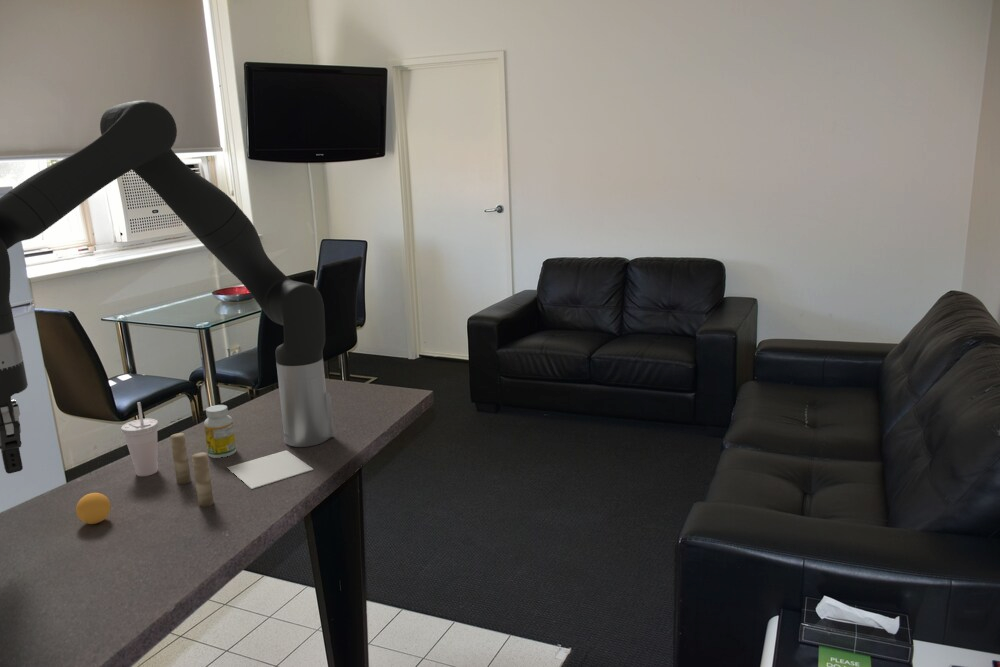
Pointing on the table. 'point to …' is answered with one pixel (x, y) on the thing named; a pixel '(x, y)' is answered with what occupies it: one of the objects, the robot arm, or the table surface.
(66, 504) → the table surface
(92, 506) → the ball
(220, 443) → the supplement bottle
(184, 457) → the post
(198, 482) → the post
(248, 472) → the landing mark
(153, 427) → the smoothie
